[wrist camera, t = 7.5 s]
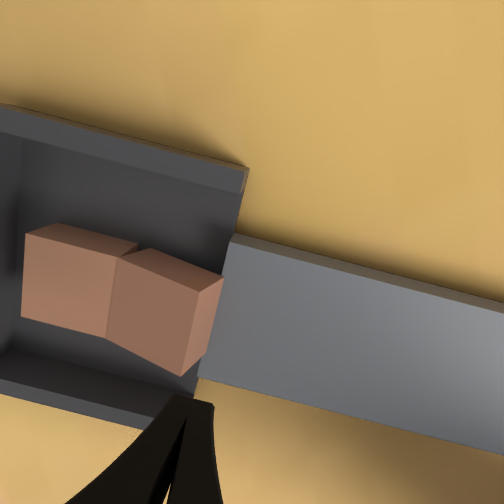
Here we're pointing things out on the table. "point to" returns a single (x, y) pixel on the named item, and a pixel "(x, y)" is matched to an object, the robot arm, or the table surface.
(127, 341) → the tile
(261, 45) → the table surface
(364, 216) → the table surface
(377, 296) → the slate plate
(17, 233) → the box
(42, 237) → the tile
